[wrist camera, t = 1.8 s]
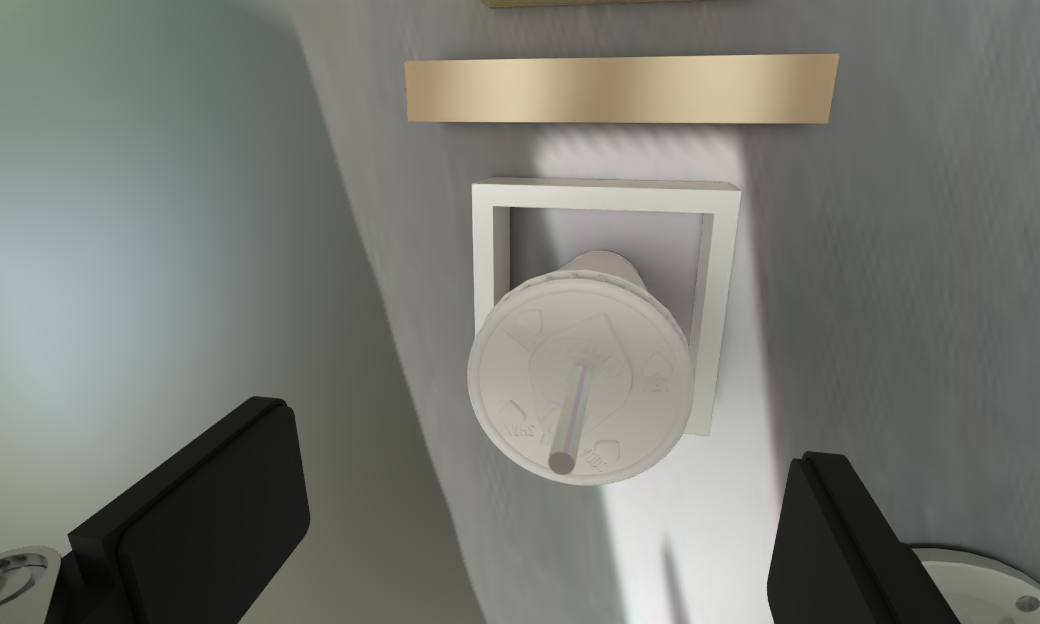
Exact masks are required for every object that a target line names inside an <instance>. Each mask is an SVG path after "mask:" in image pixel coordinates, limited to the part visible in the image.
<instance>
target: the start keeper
mask: <svg viewBox="0 0 1040 624" xmlns="http://www.w3.org/2000/svg"><path fill="white" fill-rule="evenodd" d="M741 192H742V191H741V190H739V189H738V188H736V187H735V186H733V185H732V184H730V183H726V182H684V181H642V180H601V179H559V178H517V177H490V178H487V179H484V180H481V181H478V182H476V183H473V184H472V214H473V259H474V304H475V338H476V336H477V334H478V331H479V330H480V328H481V327H482V325H483V323H484V321H485V319H486V316H487V315H488V314H489V312H490V311H491V310H492V309H493V308H494V307H495V306H496V304H497V303H498V302H499V301H500V300H501V299H502V297H503V296H504V295H505V294H507V293H508V292H510V207H536V208H565V209H594V210H624V211H653V212H682V213H704V217H703V226H702V235H701V244H700V253H699V262H698V271H697V280H696V289H695V298H694V306H693V315H692V324H691V333H690V342H689V350H690V353H691V356H692V360H693V377H694V401H693V407H692V411H691V415H690V418H689V421H688V423H687V426H686V428H685V430H684V432H683V433H685V434H694V435H703V436H710V428H711V420H712V413H713V405H714V398H715V390H716V382H717V375H718V367H719V360H720V352H721V344H722V337H723V329H724V321H725V314H726V306H727V299H728V291H729V283H730V276H731V268H732V261H733V253H734V245H735V238H736V230H737V223H738V215H739V207H740V200H741Z"/></svg>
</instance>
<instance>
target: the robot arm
mask: <svg viewBox="0 0 1040 624" xmlns="http://www.w3.org/2000/svg"><path fill="white" fill-rule="evenodd" d="M309 524H310V512H309V505H308V499H307V494H306V486H305V480H304V473H303V468H302V460H301V454H300V448H299V441H298V435H297V428H296V422H295V415H294V411H293V410H292V408H290V407H288V406H287V404H286V402H285V401H284V400H283V399H279V398H269V397H258V396H253V397H251V398H249V399H248V400H247V401H245V402H244V403H242V404H241V405H240V406H238V407H237V408H236V409H234V410H233V411H232V412H231V413H229V414H228V415H226V416H225V417H224V418H222V419H221V420H220V421H218V422H217V423H216V424H215V425H213V426H212V427H210V428H209V429H208V430H206V431H205V432H204V433H202V434H201V435H200V436H198V437H197V438H196V439H194V440H193V441H192V442H190V443H189V444H188V445H186V446H185V447H184V448H182V449H181V450H180V451H178V452H177V453H176V454H174V455H173V456H172V457H170V458H169V459H168V460H166V461H165V462H164V463H162V464H161V465H160V466H159V467H157V468H156V469H154V470H153V471H152V472H150V473H149V474H148V475H146V476H145V477H144V478H142V479H141V480H140V481H138V482H137V483H136V484H134V485H133V486H132V487H130V488H129V489H128V490H126V491H125V492H124V493H122V494H121V495H120V496H118V497H117V498H116V499H114V500H113V501H112V502H110V503H109V504H108V505H106V506H105V507H104V508H102V509H101V510H100V511H98V512H97V513H96V514H94V515H93V516H91V517H90V518H89V519H87V520H86V521H85V522H83V523H82V524H81V525H79V526H78V527H77V528H75V529H74V530H73V531H71V532H70V533H69V534H68V538H69V541H70V544H71V547H72V551H71V552H69V553H68V554H67V555H66V556H64V557H63V558H61V555H60V554H59V553H58V552H57V551H56V550H55V549H54V548H50V547H47V546H27V547H22V548H18V549H13V550H9V551H6V552H3V553H0V624H237V623H238V622H239V621H240V620H241V618H242V617H243V616H244V614H245V613H246V612H247V611H248V609H249V608H250V607H251V605H252V604H253V603H254V601H255V600H256V599H257V597H258V596H259V595H260V594H261V592H262V591H263V590H264V588H265V587H266V586H267V585H268V583H269V582H270V580H271V579H272V578H273V577H274V575H275V574H276V573H277V571H278V570H279V569H280V568H281V566H282V565H283V564H284V562H285V561H286V560H287V559H288V557H289V556H290V555H291V553H292V552H293V551H294V549H295V548H296V547H297V545H298V544H299V543H300V541H301V540H302V539H303V538H304V536H305V535H306V533H307V531H308V528H309ZM767 595H768V602H769V606H770V610H771V613H772V617H773V620H774V624H1040V584H1039V583H1037V582H1036V581H1034V580H1033V579H1031V578H1030V577H1029V576H1027V575H1026V574H1024V573H1023V572H1020V571H1018V570H1016V569H1014V568H1012V567H1010V566H1007V565H1005V564H1003V563H1001V562H999V561H996V560H993V559H989V558H986V557H982V556H979V555H975V554H971V553H968V552H960V551H953V550H945V549H938V548H921V549H911V548H910V546H908V545H906V544H904V543H902V542H899V540H898V538H897V537H896V535H895V534H894V532H893V530H892V529H891V527H890V526H889V524H888V523H887V521H886V519H885V518H884V516H883V515H882V513H881V511H880V510H879V508H878V507H877V505H876V503H875V502H874V500H873V499H872V497H871V496H870V494H869V492H868V491H867V489H866V488H865V486H864V484H863V483H862V481H861V480H860V478H859V476H858V475H857V473H856V472H855V470H854V469H853V467H852V465H851V464H850V462H849V461H848V459H847V458H846V457H845V456H844V455H841V454H831V453H821V452H811V451H807V452H805V453H804V455H803V457H802V459H795V458H794V459H793V460H792V461H791V464H790V468H789V473H788V478H787V483H786V489H785V494H784V499H783V504H782V509H781V514H780V519H779V524H778V529H777V534H776V539H775V544H774V550H773V555H772V560H771V565H770V570H769V575H768V581H767Z"/></svg>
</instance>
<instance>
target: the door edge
mask: <svg viewBox="0 0 1040 624" xmlns="http://www.w3.org/2000/svg"><path fill="white" fill-rule="evenodd" d="M839 55H840V54H788V55H730V56H672V57H613V58H555V59H497V60H439V61H405V78H406V95H407V113H408V122H542V123H750V124H823V123H828V119H829V113H830V107H831V101H832V96H833V90H834V84H835V78H836V73H837V67H838V61H839Z"/></svg>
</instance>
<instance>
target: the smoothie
mask: <svg viewBox="0 0 1040 624" xmlns="http://www.w3.org/2000/svg"><path fill="white" fill-rule="evenodd" d="M467 381H468V390H469V396H470V400H471V403H472V407H473V409H474V412H475V414H476V417H477V419H478V421H479V423H480V424H481V426H482V428H483V429H484V431H485V432H486V434H487V435H488V437H489V438H490V439H491V440H492V442H493V443H494V444H495V445H496V446H497V447H498V448H499V449H500V450H501V451H502V452H503V453H504V454H505V455H506V456H508V457H509V458H510V459H511V460H513V461H514V462H515V463H517V464H519V465H520V466H522V467H523V468H525V469H527V470H529V471H531V472H532V473H535V474H537V475H539V476H542V477H544V478H547V479H550V480H554V481H558V482H562V483H567V484H574V485H602V484H609V483H614V482H618V481H622V480H625V479H628V478H631V477H633V476H636V475H638V474H640V473H642V472H644V471H645V470H647V469H649V468H650V467H652V466H653V465H655V464H656V463H657V462H659V461H660V460H661V459H662V458H663V457H665V456H666V455H667V454H668V453H669V452H670V450H671V449H672V448H673V447H674V446H675V444H676V443H677V442H678V440H679V439H680V437H681V435H682V434H683V432H684V430H685V428H686V426H687V423H688V421H689V418H690V415H691V411H692V407H693V401H694V377H693V360H692V356H691V353H690V350H689V347H688V343H687V340H686V337H685V334H684V333H683V331H682V330H681V328H680V327H679V325H678V324H677V322H676V321H675V319H674V318H673V316H672V314H671V313H670V311H669V310H668V309H667V308H666V307H665V306H664V305H662V304H661V303H660V302H659V301H658V300H657V299H656V298H654V297H653V296H652V295H651V294H650V293H649V292H648V290H647V288H646V287H645V285H644V283H643V281H642V279H641V278H640V276H639V274H638V272H637V270H636V269H635V267H634V266H633V265H632V264H631V263H630V262H629V261H628V260H627V259H625V258H624V257H622V256H620V255H618V254H616V253H613V252H610V251H603V250H596V251H589V252H586V253H583V254H581V255H579V256H577V257H576V258H574V259H573V260H571V261H570V262H568V263H567V264H566V265H564V266H563V267H561V268H560V269H558V270H557V271H554V272H551V273H547V274H544V275H541V276H538V277H535V278H532V279H529V280H527V281H525V282H524V283H522V284H521V285H519V286H518V287H516V288H515V289H513V290H512V291H510V292H508V293H507V294H505V295H504V296H503V297H502V299H501V300H500V301H499V302H498V303H497V304H496V306H495V307H494V308H493V309H492V310H491V311H490V312H489V314H488V315H487V316H486V319H485V321H484V323H483V325H482V327H481V328H480V330H479V331H478V334H477V336H476V338H475V340H474V342H473V345H472V348H471V352H470V356H469V361H468V369H467Z"/></svg>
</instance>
